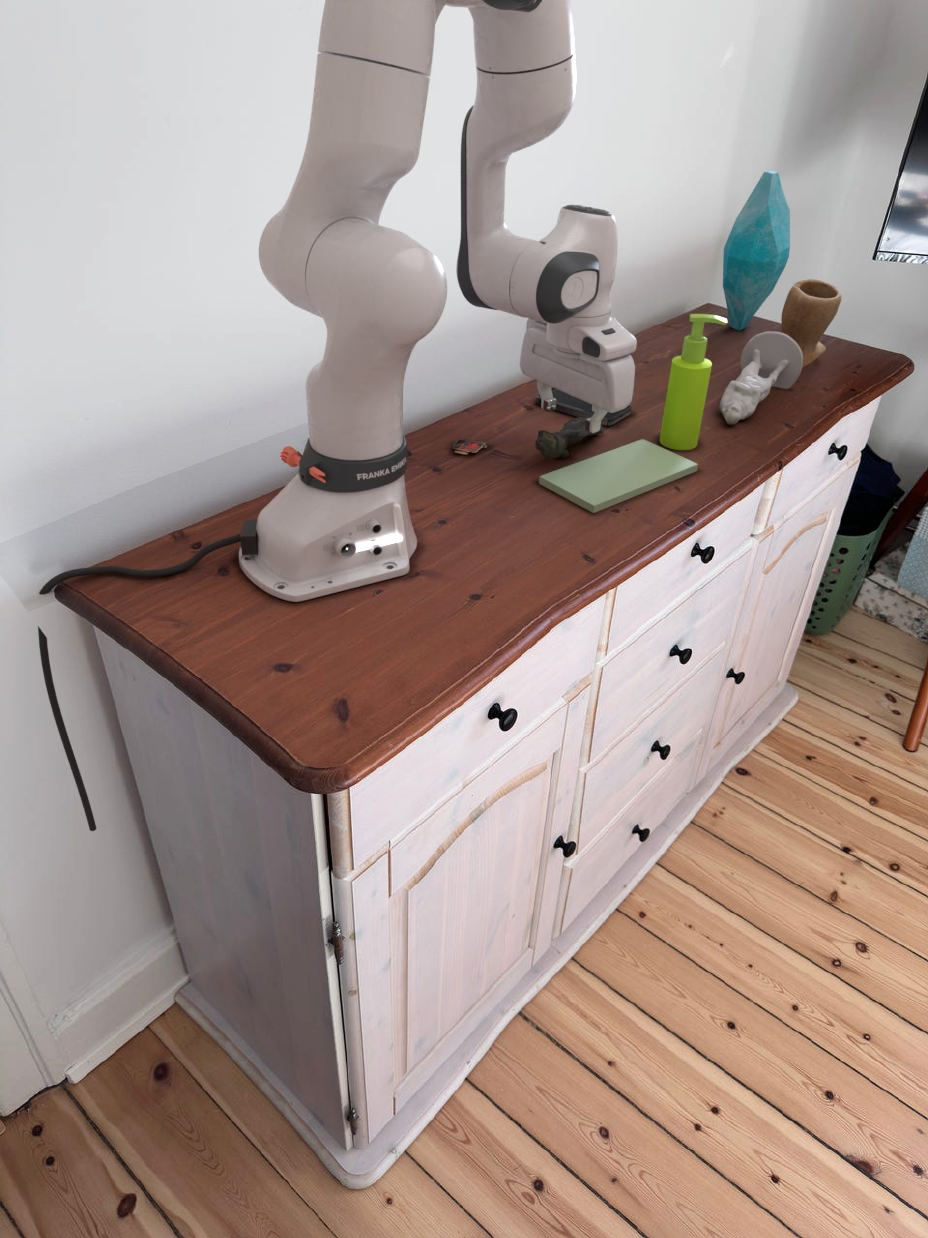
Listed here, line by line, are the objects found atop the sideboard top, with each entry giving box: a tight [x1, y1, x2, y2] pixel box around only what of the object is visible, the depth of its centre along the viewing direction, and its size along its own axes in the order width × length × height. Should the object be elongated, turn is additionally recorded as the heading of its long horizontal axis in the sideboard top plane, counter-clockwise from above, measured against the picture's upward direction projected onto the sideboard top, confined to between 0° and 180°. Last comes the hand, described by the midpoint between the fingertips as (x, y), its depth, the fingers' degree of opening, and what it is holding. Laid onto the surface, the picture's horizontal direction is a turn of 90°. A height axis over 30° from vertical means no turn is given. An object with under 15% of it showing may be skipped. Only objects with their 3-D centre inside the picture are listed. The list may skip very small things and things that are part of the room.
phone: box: [535, 387, 633, 427], centre depth 156 cm, size 8×1×15 cm
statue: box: [534, 417, 605, 460], centre depth 140 cm, size 6×6×20 cm
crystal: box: [722, 170, 791, 331], centre depth 186 cm, size 12×14×30 cm
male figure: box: [719, 330, 803, 425], centre depth 158 cm, size 11×10×25 cm
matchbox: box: [452, 439, 488, 455], centre depth 142 cm, size 5×5×1 cm
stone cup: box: [780, 278, 842, 368], centre depth 174 cm, size 15×12×15 cm
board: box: [538, 438, 699, 514], centre depth 135 cm, size 22×11×1 cm, turn 129°
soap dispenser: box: [659, 313, 728, 451], centre depth 140 cm, size 6×7×20 cm
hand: (569, 420), depth 138 cm, fingers open, 8 cm apart
